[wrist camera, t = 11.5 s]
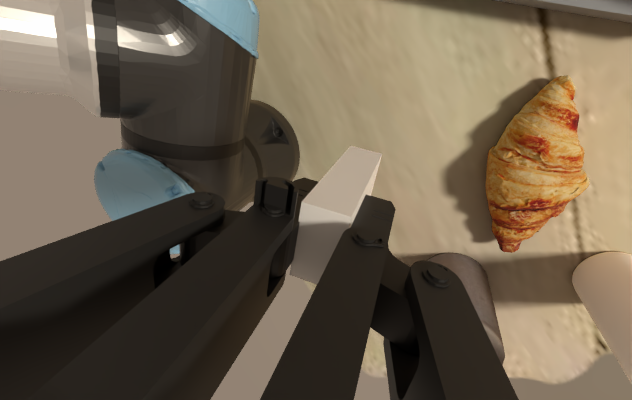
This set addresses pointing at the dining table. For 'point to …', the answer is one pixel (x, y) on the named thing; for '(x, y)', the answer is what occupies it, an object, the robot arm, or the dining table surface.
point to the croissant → (535, 165)
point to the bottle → (609, 300)
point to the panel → (585, 7)
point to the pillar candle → (476, 293)
